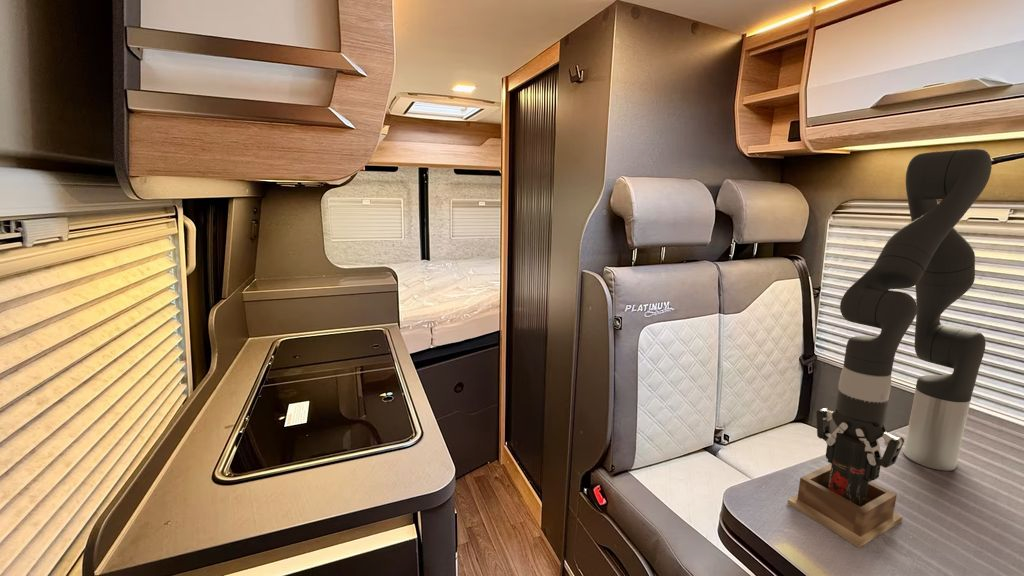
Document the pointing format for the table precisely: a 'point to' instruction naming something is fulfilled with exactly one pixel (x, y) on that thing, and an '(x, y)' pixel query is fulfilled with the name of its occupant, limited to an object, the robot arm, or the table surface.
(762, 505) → the table surface
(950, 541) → the table surface
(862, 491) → the deodorant
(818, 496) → the holder
